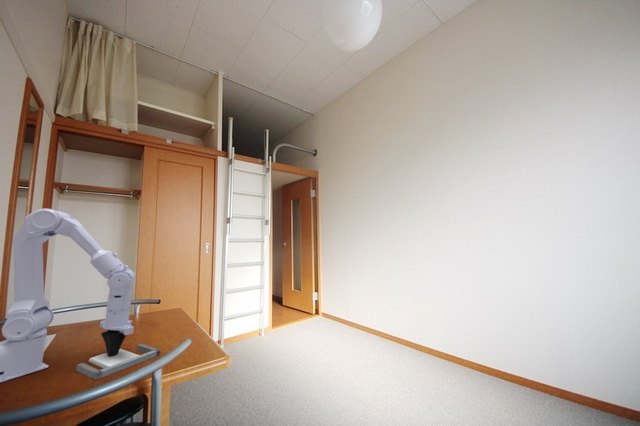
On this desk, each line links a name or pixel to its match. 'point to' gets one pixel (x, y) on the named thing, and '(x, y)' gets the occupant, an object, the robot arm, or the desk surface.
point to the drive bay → (98, 374)
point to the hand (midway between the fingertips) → (112, 355)
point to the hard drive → (112, 358)
